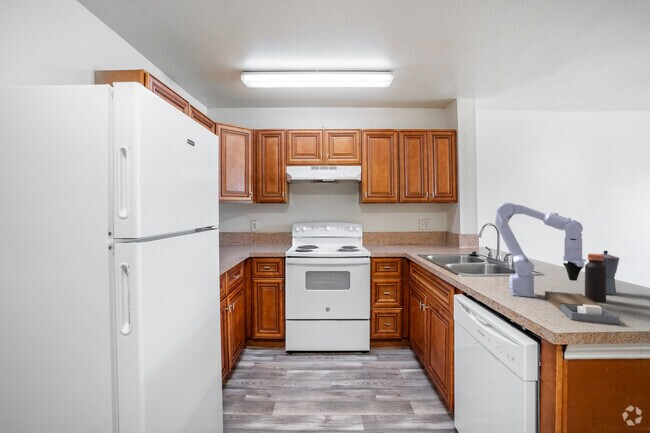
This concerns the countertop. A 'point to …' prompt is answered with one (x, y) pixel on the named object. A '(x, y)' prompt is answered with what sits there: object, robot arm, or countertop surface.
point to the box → (589, 315)
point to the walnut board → (568, 299)
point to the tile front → (592, 309)
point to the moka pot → (610, 272)
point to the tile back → (580, 309)
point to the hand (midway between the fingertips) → (572, 280)
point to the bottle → (595, 278)
